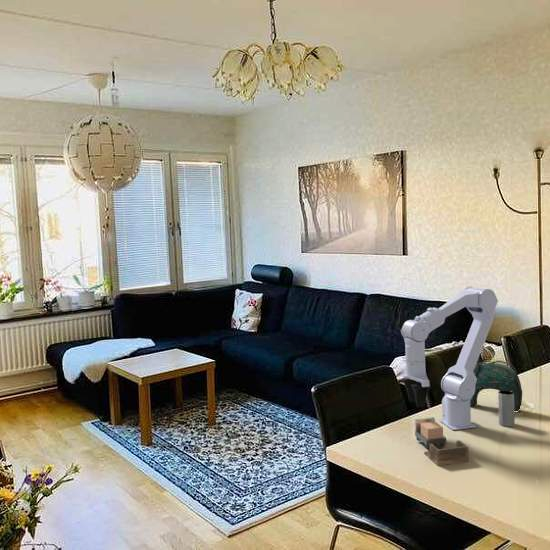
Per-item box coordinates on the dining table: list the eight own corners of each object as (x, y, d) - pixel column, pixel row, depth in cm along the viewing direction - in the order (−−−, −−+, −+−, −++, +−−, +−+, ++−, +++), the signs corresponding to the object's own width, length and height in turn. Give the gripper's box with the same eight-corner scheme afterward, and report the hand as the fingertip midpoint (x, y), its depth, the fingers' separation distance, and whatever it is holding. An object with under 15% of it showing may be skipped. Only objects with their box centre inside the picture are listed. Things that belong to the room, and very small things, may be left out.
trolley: (415, 439, 174) (414, 419, 173) (434, 437, 175) (433, 417, 174) (426, 449, 166) (426, 428, 165) (446, 447, 167) (445, 426, 166)
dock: (424, 453, 164) (423, 439, 164) (454, 449, 166) (453, 435, 165) (437, 465, 156) (437, 450, 155) (468, 461, 157) (468, 446, 157)
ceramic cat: (459, 406, 202) (457, 349, 200) (464, 401, 208) (463, 345, 206) (520, 414, 191) (519, 354, 189) (524, 408, 196) (523, 350, 195)
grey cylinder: (514, 422, 184) (514, 390, 183) (514, 427, 180) (513, 394, 179) (499, 421, 186) (498, 389, 185) (498, 426, 182) (497, 393, 181)
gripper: (393, 356, 183) (395, 398, 185) (412, 367, 169) (414, 412, 170) (415, 354, 185) (416, 396, 186) (435, 364, 170) (436, 410, 172)
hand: (416, 403), depth 178 cm, fingers open, 5 cm apart
